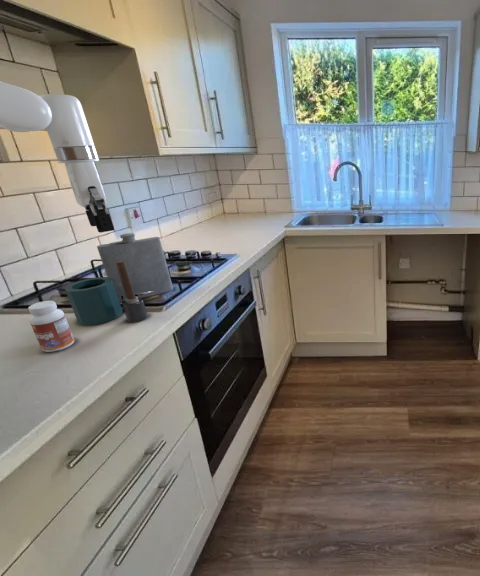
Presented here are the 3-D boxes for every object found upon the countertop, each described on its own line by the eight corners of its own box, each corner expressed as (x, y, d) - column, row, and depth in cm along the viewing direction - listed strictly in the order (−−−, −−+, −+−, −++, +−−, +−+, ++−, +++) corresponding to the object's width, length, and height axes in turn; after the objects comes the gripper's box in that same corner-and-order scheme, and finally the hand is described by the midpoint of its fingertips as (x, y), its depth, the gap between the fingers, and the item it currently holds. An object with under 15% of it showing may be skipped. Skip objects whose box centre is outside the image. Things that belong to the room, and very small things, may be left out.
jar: (81, 329, 95) (67, 294, 91) (75, 317, 102) (62, 284, 98) (126, 316, 102) (115, 283, 98) (118, 305, 108) (107, 274, 104)
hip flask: (172, 287, 121) (156, 228, 113) (174, 290, 118) (158, 230, 110) (115, 299, 113) (94, 236, 105) (115, 303, 109) (93, 239, 102)
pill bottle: (35, 352, 85) (15, 310, 80) (59, 339, 90) (41, 298, 86) (59, 353, 84) (40, 310, 80) (81, 339, 90) (65, 299, 86)
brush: (129, 324, 97) (110, 265, 91) (125, 318, 100) (106, 261, 94) (150, 318, 100) (132, 261, 94) (145, 312, 103) (128, 257, 97)
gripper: (52, 155, 86) (78, 225, 93) (61, 157, 75) (90, 237, 82) (90, 153, 91) (112, 220, 98) (104, 155, 80) (128, 230, 87)
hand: (102, 228), depth 90 cm, fingers open, 9 cm apart
